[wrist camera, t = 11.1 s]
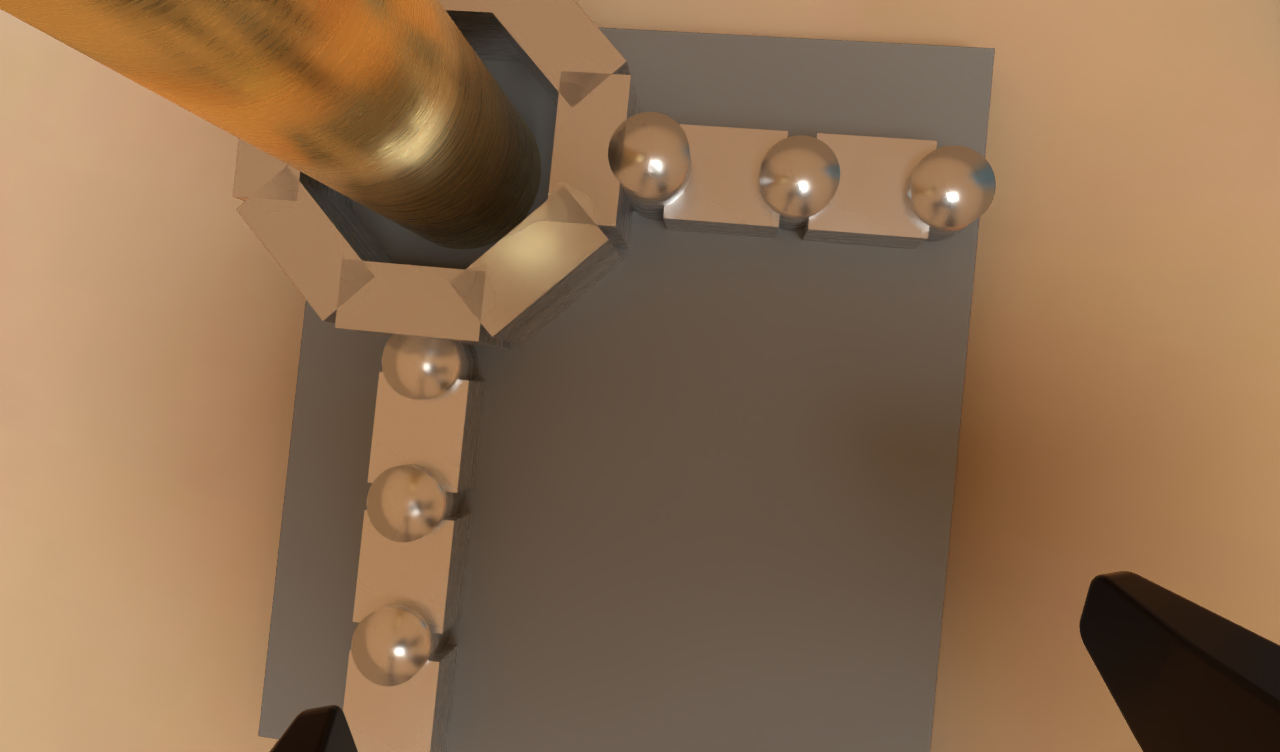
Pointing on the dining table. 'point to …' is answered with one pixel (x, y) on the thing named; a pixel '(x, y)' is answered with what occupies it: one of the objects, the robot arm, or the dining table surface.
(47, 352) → the dining table surface
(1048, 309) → the dining table surface
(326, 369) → the grey base plate
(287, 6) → the golden flared cup
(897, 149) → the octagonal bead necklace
